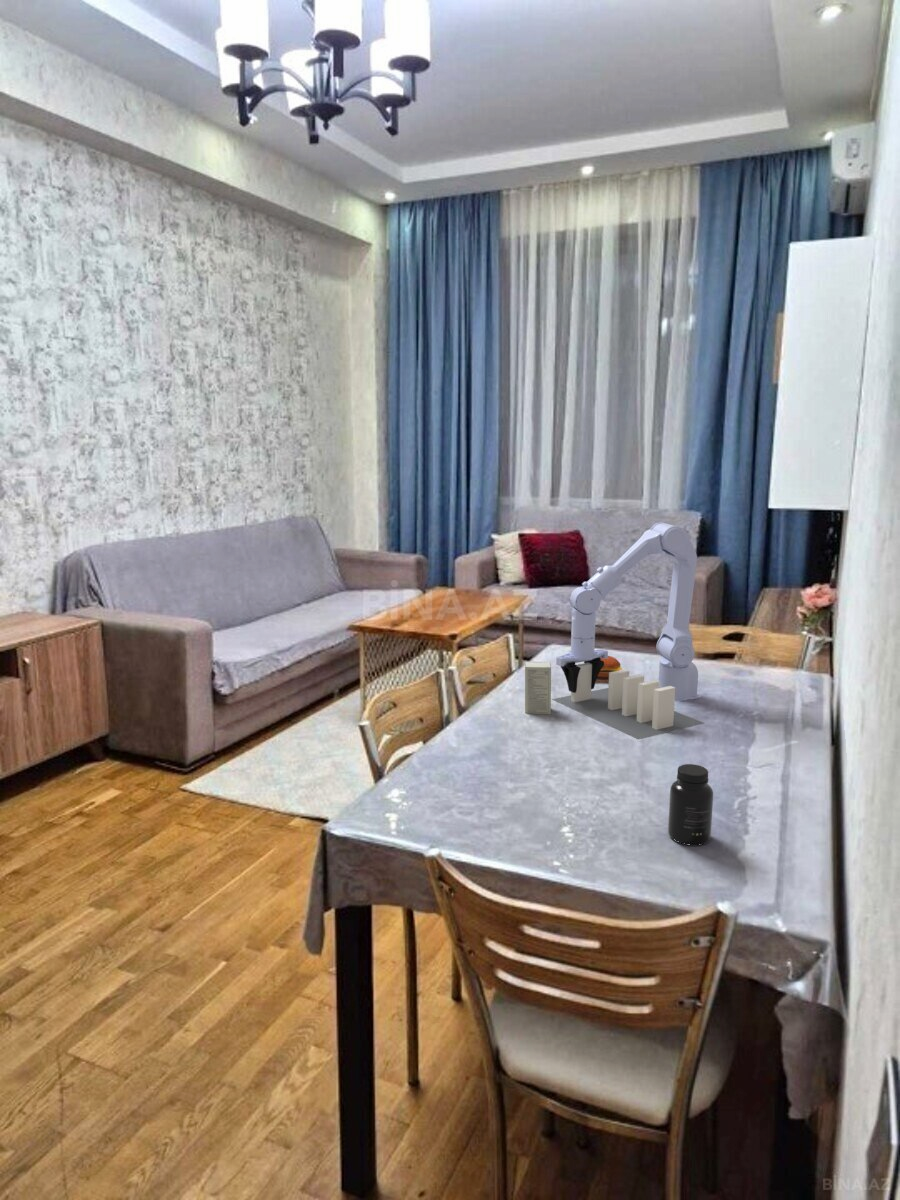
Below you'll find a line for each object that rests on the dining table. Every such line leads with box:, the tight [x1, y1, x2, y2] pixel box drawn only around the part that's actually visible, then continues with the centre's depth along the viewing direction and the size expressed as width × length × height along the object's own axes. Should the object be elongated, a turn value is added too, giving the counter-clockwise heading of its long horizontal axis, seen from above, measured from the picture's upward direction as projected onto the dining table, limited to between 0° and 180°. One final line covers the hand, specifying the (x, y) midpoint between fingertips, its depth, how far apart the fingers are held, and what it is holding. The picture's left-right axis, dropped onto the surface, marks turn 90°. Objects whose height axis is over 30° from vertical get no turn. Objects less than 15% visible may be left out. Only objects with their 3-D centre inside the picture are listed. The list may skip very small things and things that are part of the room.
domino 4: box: [637, 679, 659, 723], centre depth 187 cm, size 2×5×9 cm, turn 120°
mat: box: [551, 687, 704, 740], centre depth 195 cm, size 20×31×1 cm, turn 30°
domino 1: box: [570, 662, 592, 702], centre depth 201 cm, size 2×5×9 cm, turn 120°
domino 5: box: [652, 686, 676, 730], centre depth 183 cm, size 2×5×9 cm, turn 120°
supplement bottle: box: [667, 763, 714, 846], centre depth 134 cm, size 7×7×12 cm
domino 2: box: [608, 669, 630, 710], centre depth 196 cm, size 2×5×9 cm, turn 120°
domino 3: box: [622, 674, 645, 716], centre depth 192 cm, size 2×5×9 cm, turn 120°
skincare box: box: [524, 661, 552, 715], centre depth 194 cm, size 6×4×12 cm
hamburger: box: [596, 655, 623, 683], centre depth 220 cm, size 9×10×7 cm
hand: (581, 689), depth 202 cm, fingers closed on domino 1, 5 cm apart
